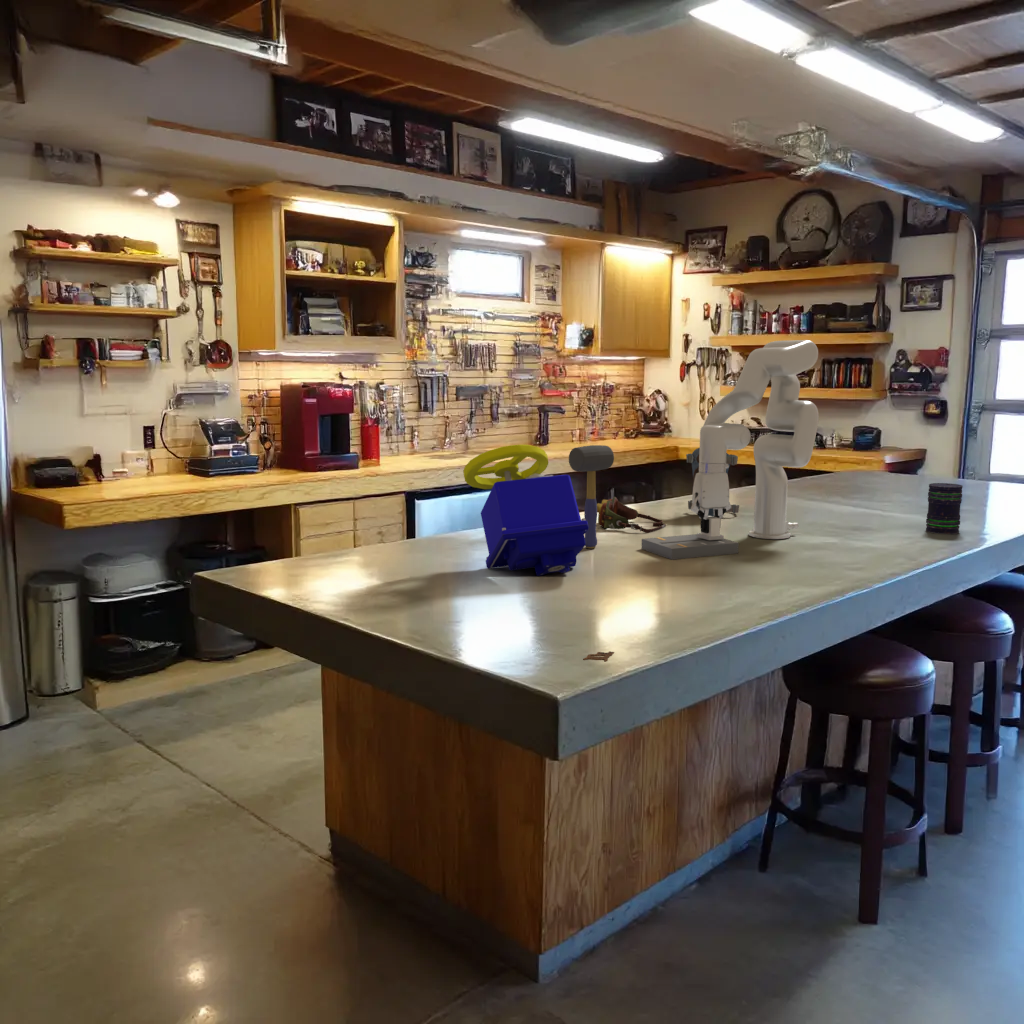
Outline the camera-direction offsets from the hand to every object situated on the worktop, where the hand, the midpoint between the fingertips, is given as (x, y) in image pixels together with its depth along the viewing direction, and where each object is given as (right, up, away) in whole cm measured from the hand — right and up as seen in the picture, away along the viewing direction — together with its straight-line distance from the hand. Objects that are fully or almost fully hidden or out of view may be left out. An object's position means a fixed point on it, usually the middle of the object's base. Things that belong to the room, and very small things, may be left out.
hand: (710, 531), depth 258 cm
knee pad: (+14, +4, +62) cm, 64 cm away
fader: (0, -2, 0) cm, 2 cm away
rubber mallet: (-34, -5, +3) cm, 35 cm away
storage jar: (+80, -1, +28) cm, 85 cm away
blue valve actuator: (-55, -10, -27) cm, 61 cm away
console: (-6, -6, -2) cm, 9 cm away
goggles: (-18, 0, +38) cm, 42 cm away
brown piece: (-38, -20, -88) cm, 98 cm away
